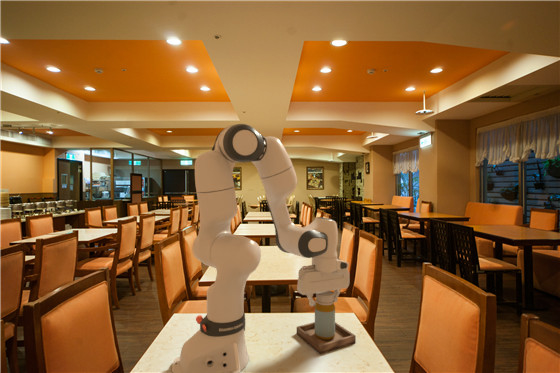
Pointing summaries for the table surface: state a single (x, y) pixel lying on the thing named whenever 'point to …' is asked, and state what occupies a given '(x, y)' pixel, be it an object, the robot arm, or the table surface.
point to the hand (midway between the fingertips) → (323, 303)
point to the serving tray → (322, 346)
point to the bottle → (325, 315)
